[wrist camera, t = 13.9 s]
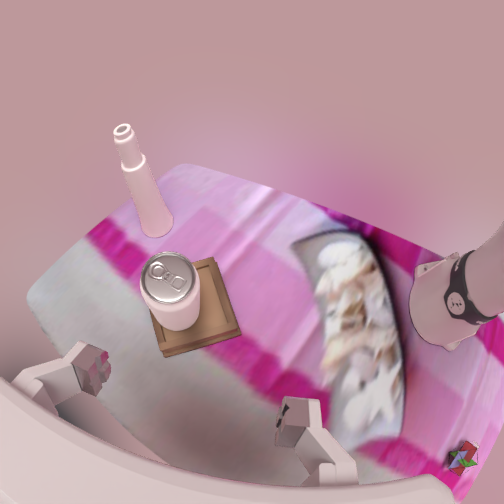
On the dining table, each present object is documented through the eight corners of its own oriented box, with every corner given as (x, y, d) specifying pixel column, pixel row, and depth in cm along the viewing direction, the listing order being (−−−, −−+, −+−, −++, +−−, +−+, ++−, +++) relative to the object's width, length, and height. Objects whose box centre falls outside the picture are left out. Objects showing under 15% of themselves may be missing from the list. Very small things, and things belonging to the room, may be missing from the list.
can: (169, 279, 39) (159, 237, 28) (208, 301, 38) (211, 266, 28) (145, 316, 35) (124, 286, 25) (185, 340, 35) (178, 320, 25)
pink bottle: (171, 238, 46) (138, 143, 26) (139, 238, 46) (92, 148, 26) (175, 209, 49) (150, 111, 29) (144, 209, 48) (108, 117, 29)
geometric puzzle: (461, 478, 26) (489, 460, 22) (441, 483, 26) (470, 466, 22) (457, 452, 32) (482, 432, 28) (437, 455, 32) (463, 435, 29)
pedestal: (216, 265, 45) (215, 252, 41) (241, 335, 40) (242, 330, 36) (147, 285, 42) (138, 275, 38) (165, 357, 38) (157, 355, 34)
